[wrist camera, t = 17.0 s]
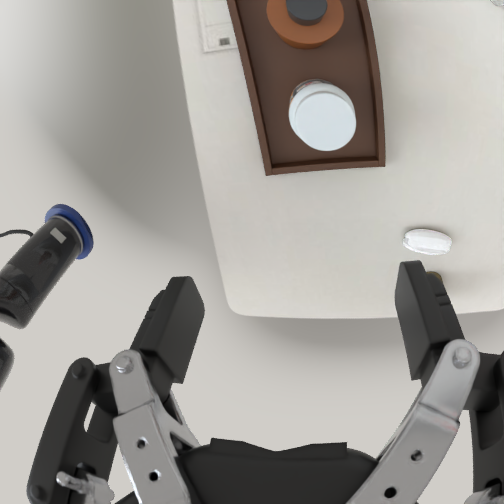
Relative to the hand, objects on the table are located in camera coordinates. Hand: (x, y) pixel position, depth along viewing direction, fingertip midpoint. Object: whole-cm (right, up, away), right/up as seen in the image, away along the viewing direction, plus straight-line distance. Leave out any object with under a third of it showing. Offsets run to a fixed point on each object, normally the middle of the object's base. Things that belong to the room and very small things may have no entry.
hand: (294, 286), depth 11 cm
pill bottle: (+5, +17, +16) cm, 24 cm away
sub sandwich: (+23, +4, +24) cm, 33 cm away
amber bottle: (+4, +24, +11) cm, 26 cm away
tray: (+4, +23, +12) cm, 26 cm away
